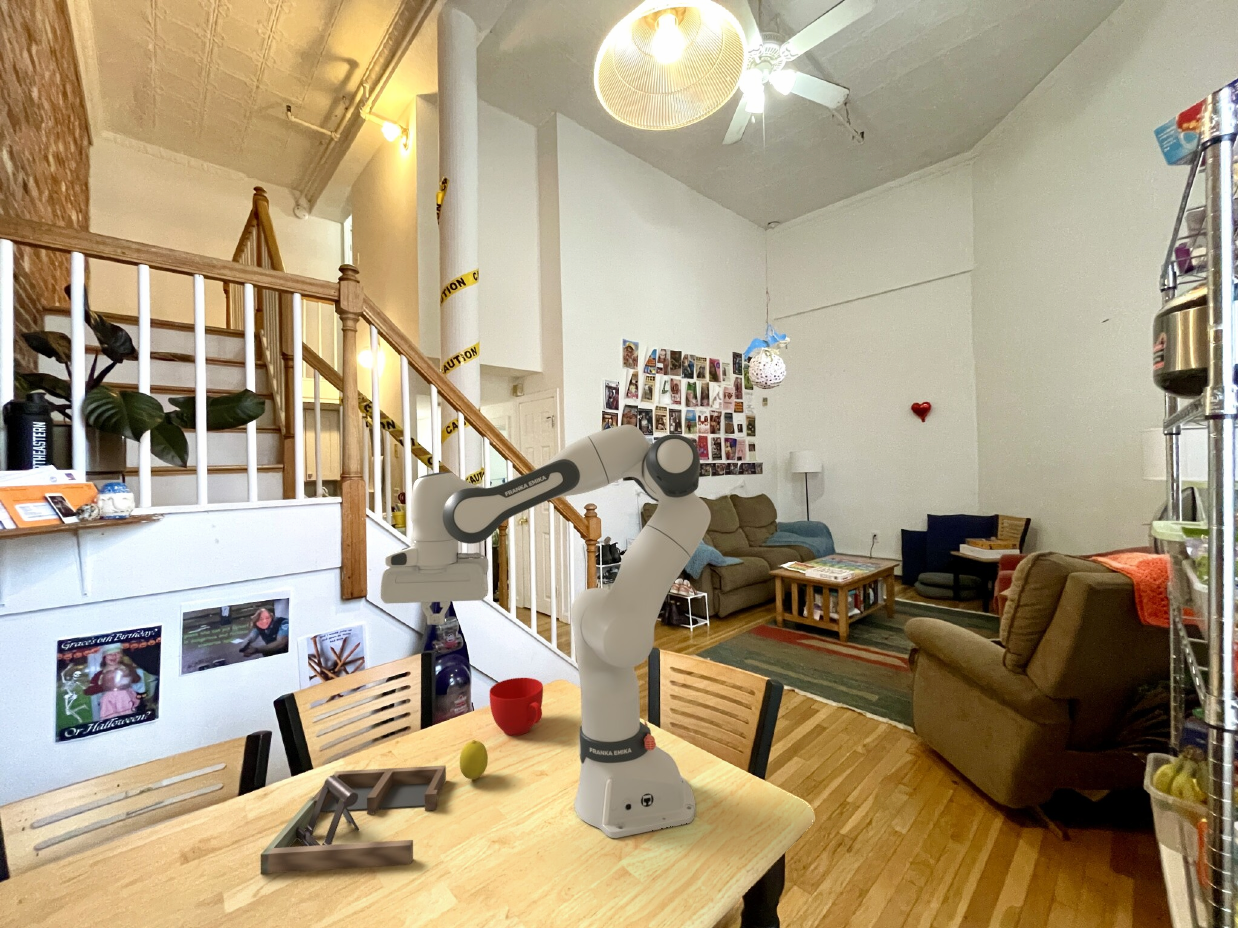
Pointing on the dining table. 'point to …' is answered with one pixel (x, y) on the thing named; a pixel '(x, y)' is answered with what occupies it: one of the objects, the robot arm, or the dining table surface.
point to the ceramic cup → (516, 704)
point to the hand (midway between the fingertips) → (436, 623)
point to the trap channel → (353, 854)
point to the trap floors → (387, 797)
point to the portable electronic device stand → (343, 799)
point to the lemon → (473, 760)
